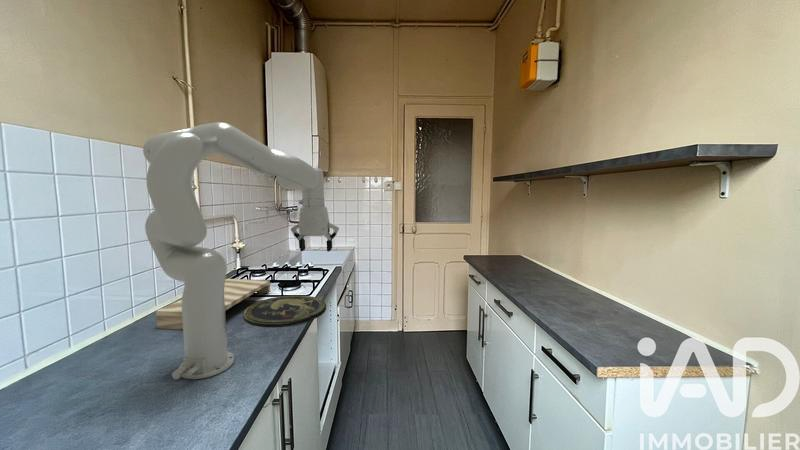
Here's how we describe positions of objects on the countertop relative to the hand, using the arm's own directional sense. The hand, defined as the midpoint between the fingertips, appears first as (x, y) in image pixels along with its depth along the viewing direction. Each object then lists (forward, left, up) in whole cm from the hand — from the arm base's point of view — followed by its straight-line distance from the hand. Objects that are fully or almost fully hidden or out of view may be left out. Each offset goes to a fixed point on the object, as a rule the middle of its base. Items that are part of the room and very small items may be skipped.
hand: (316, 250), depth 117 cm
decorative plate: (+4, +14, -25) cm, 29 cm away
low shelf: (+4, +40, -25) cm, 47 cm away
